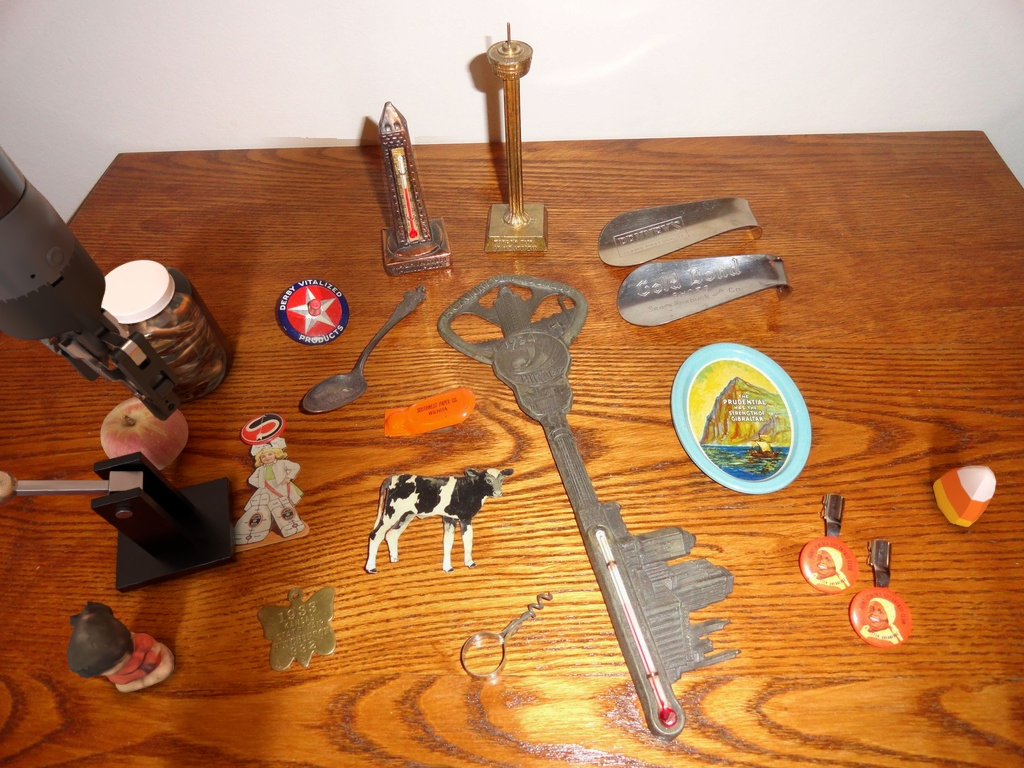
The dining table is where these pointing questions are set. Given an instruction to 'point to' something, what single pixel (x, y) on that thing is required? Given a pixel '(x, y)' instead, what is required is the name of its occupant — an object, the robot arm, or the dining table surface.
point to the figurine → (115, 650)
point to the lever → (67, 485)
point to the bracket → (166, 524)
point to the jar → (170, 323)
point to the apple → (143, 433)
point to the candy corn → (964, 493)
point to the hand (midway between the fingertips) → (134, 391)
